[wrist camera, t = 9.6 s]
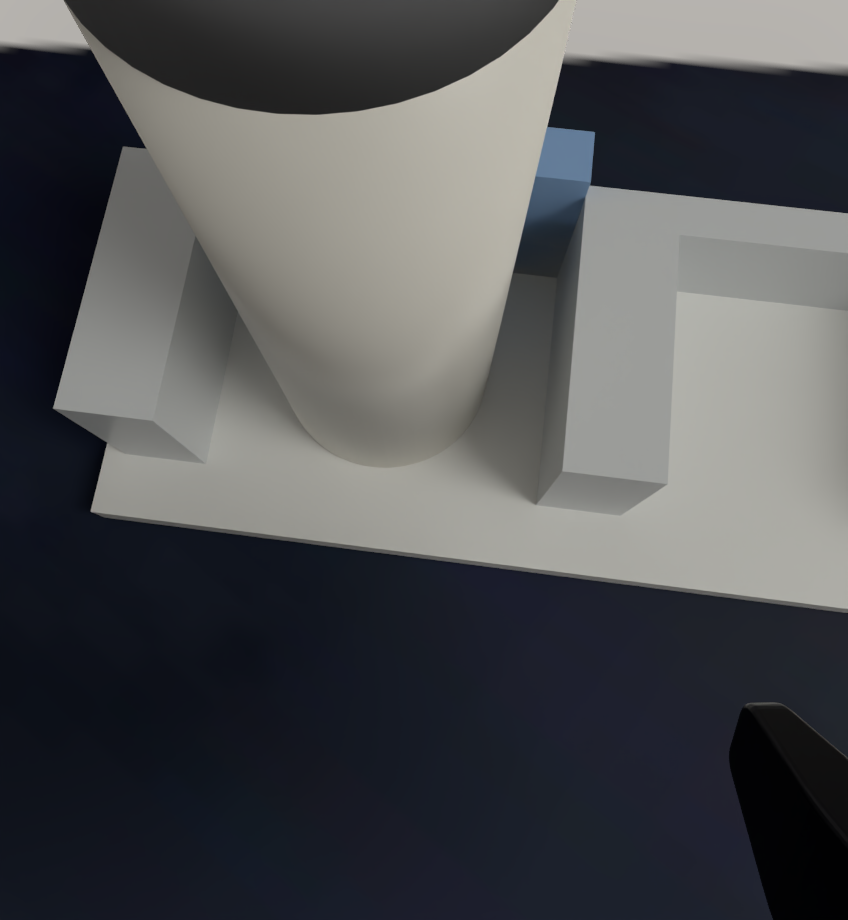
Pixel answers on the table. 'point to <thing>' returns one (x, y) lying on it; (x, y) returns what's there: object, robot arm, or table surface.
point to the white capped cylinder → (350, 186)
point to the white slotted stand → (513, 398)
